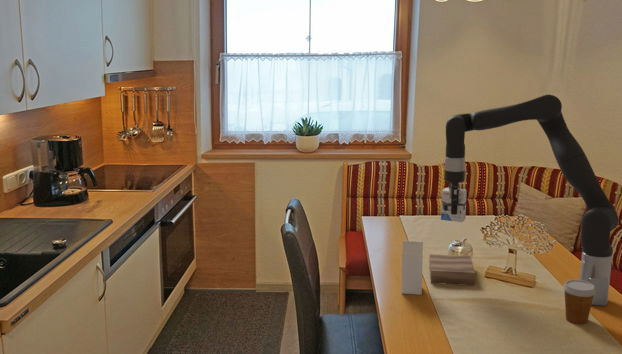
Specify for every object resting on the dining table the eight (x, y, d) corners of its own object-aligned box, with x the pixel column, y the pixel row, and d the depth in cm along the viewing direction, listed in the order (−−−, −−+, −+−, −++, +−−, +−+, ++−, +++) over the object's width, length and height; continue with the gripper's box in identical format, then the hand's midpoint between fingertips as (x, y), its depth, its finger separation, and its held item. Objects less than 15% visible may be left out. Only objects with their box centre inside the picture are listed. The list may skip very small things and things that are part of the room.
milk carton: (421, 295, 204) (422, 244, 200) (401, 293, 205) (402, 243, 201) (421, 287, 211) (422, 238, 207) (402, 286, 212) (403, 237, 208)
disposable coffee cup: (565, 310, 189) (568, 276, 187) (596, 318, 183) (599, 283, 181) (556, 321, 182) (559, 286, 180) (588, 329, 176) (591, 293, 174)
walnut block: (474, 285, 212) (474, 272, 211) (430, 283, 214) (431, 270, 213) (469, 267, 229) (470, 256, 228) (429, 266, 232) (429, 254, 231)
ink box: (440, 220, 217) (441, 190, 214) (443, 216, 221) (444, 187, 219) (462, 222, 213) (463, 192, 210) (465, 219, 217) (466, 189, 215)
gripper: (466, 172, 205) (465, 217, 209) (463, 165, 219) (462, 207, 223) (445, 172, 207) (444, 216, 210) (443, 165, 220) (442, 206, 224)
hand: (453, 211), depth 216 cm, fingers closed on ink box, 6 cm apart
